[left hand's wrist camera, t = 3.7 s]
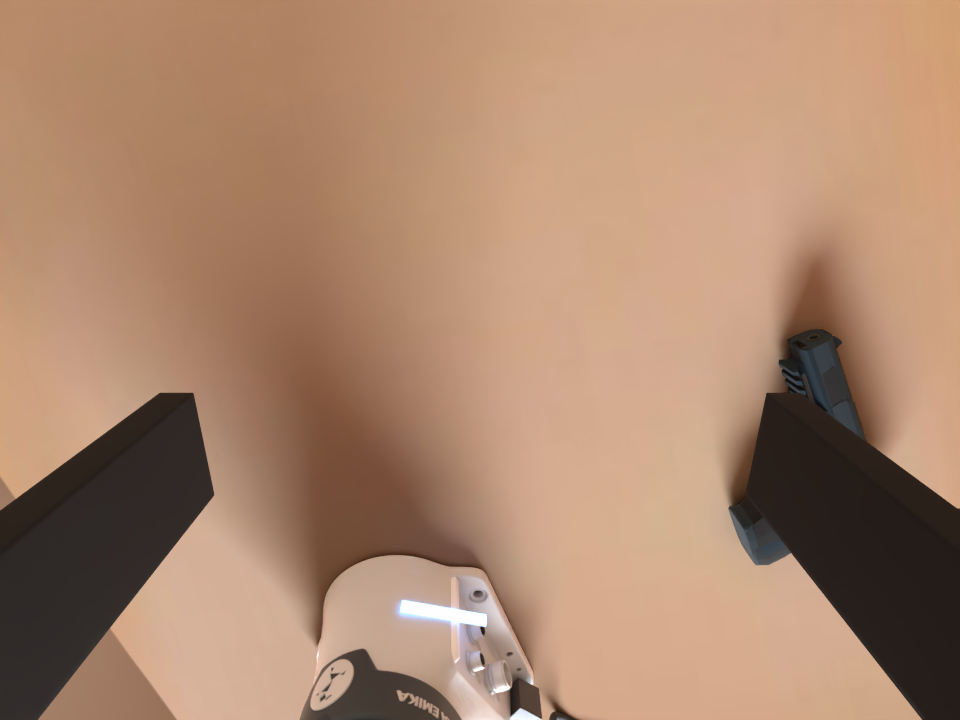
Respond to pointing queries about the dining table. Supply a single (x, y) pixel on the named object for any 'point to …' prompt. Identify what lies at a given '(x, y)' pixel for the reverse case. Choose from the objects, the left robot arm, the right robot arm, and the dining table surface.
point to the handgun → (826, 387)
